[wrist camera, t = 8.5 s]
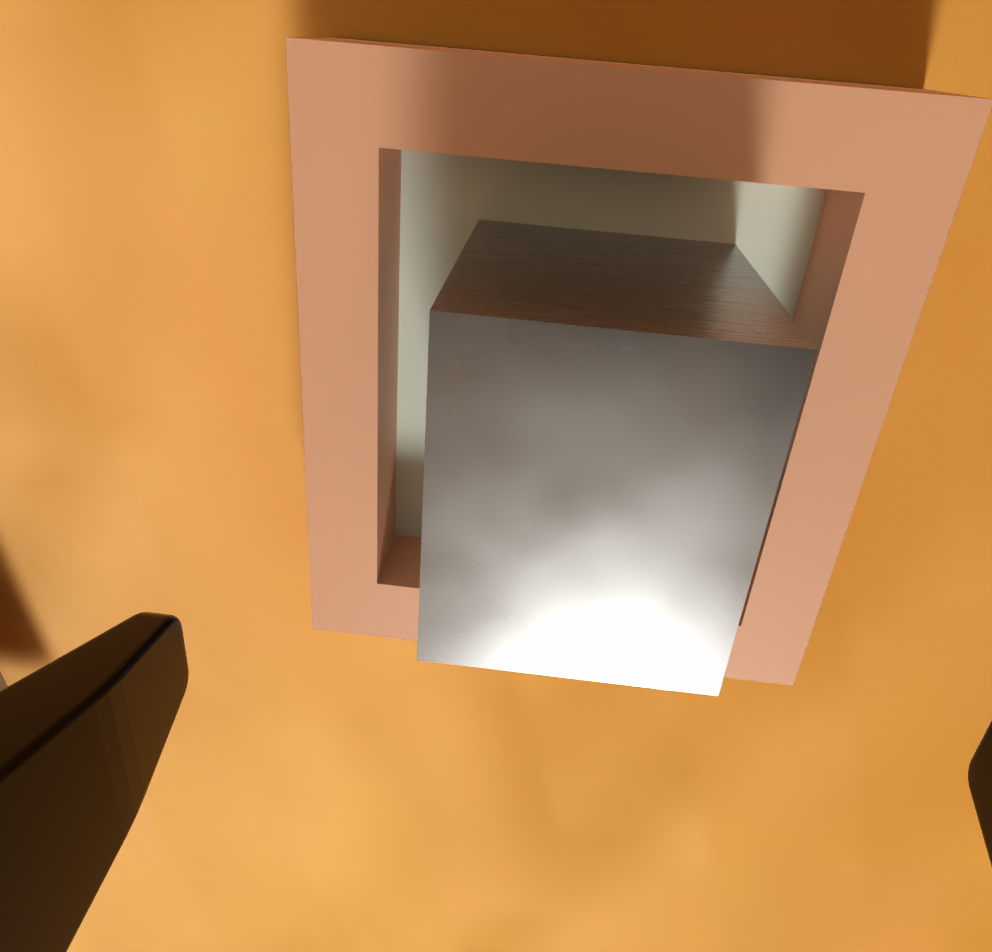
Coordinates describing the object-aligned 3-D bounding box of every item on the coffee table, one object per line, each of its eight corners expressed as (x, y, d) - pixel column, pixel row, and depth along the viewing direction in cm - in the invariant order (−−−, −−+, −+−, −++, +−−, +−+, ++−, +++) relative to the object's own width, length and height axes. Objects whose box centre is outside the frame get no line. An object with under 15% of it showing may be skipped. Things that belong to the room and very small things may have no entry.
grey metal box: (735, 244, 15) (816, 350, 10) (677, 508, 18) (718, 696, 13) (478, 219, 16) (430, 310, 10) (462, 484, 19) (416, 660, 13)
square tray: (924, 89, 15) (994, 99, 12) (767, 608, 20) (793, 685, 18) (332, 37, 15) (285, 37, 13) (343, 559, 21) (312, 628, 18)
